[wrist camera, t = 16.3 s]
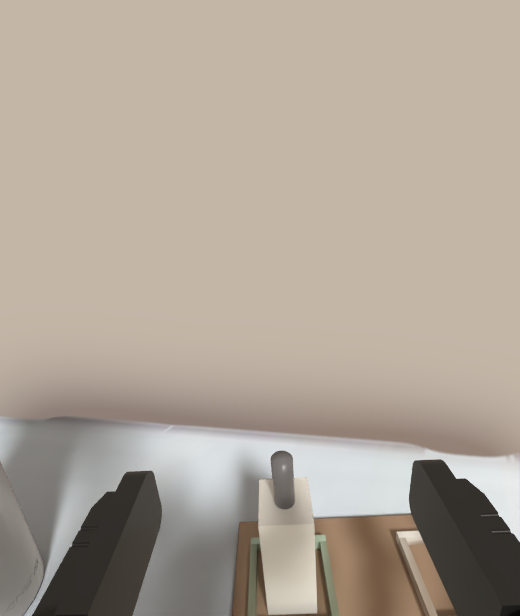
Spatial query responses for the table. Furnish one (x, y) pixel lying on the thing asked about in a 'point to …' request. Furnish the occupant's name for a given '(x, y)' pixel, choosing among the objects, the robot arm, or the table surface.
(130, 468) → the table surface
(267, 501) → the cream block with handle
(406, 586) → the walnut port board
